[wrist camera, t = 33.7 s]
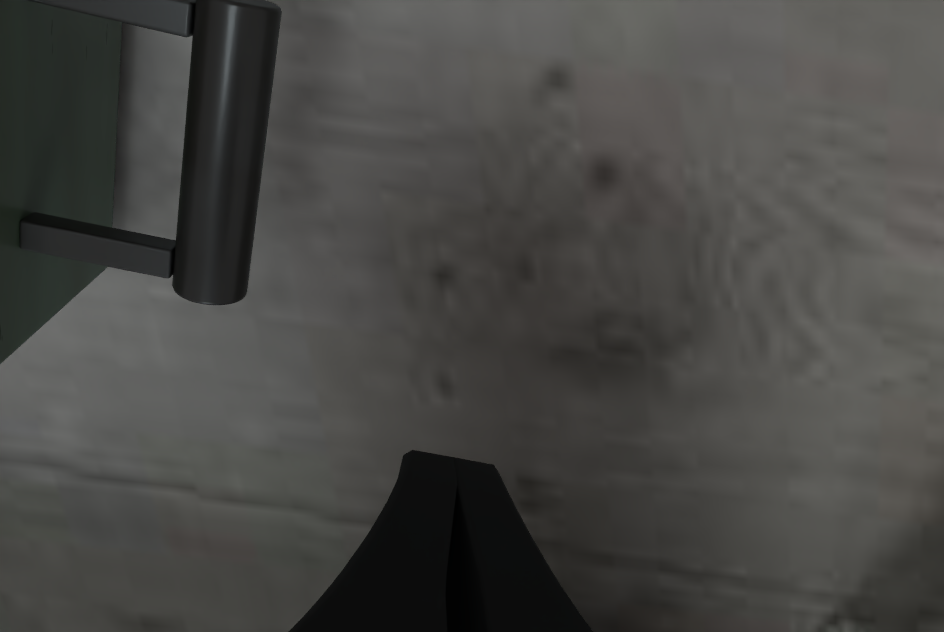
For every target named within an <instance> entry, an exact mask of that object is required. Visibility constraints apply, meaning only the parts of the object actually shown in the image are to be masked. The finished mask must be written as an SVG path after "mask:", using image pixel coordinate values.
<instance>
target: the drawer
mask: <svg viewBox="0 0 944 632" xmlns="http://www.w3.org/2000/svg"><path fill="white" fill-rule="evenodd" d="M281 13H282V11H281V8H280V7H279V6H277V5H276V4H274V3H271V2H268V1H265V0H0V364H1V363H2V362H3V361H4V360H5V359H6V358H8V357H9V356H10V355H11V354H12V353H13V352H14V351H15V350H16V349H17V348H19V347H20V346H21V345H22V344H23V343H24V342H25V341H26V340H27V339H29V338H30V337H31V336H32V335H33V334H34V333H35V332H36V331H37V330H39V329H40V328H41V327H42V326H43V325H44V324H45V323H46V322H47V321H48V320H50V319H51V318H52V317H53V316H54V315H55V314H56V313H57V312H58V311H60V310H61V309H62V308H63V307H64V306H65V305H66V304H67V303H68V302H69V301H71V300H72V299H73V298H74V297H75V296H76V295H77V294H78V293H79V292H81V291H82V290H83V289H84V288H85V287H86V286H87V285H88V284H89V283H91V282H92V281H93V280H94V279H95V278H96V277H97V276H98V275H99V274H100V273H102V272H103V271H104V270H105V269H106V268H107V267H113V268H118V269H123V270H128V271H133V272H138V273H143V274H148V275H153V276H158V277H163V278H170V277H171V276H172V275H173V282H172V286H173V288H174V291H175V292H176V293H177V294H178V295H179V296H181V297H183V298H185V299H187V300H189V301H192V302H196V303H201V304H207V305H226V304H232V303H236V302H238V301H240V300H242V299H243V298H244V297H245V295H246V293H247V288H248V280H249V271H250V263H251V255H252V247H253V239H254V231H255V223H256V215H257V207H258V199H259V191H260V183H261V175H262V166H263V158H264V150H265V142H266V134H267V126H268V118H269V110H270V102H271V94H272V86H273V78H274V69H275V61H276V53H277V45H278V37H279V29H280V21H281ZM122 23H127V24H131V25H135V26H140V27H144V28H148V29H153V30H157V31H161V32H166V33H170V34H174V35H179V36H183V37H189V36H193V40H192V52H191V64H190V76H189V88H188V101H187V113H186V125H185V137H184V149H183V161H182V173H181V185H180V197H179V210H178V222H177V234H176V241H175V240H170V239H165V238H160V237H155V236H151V235H146V234H141V233H136V232H131V231H126V230H121V229H116V228H112V220H113V199H114V178H115V157H116V137H117V116H118V95H119V75H120V54H121V33H122Z"/></svg>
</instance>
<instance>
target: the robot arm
mask: <svg viewBox="0 0 944 632" xmlns="http://www.w3.org/2000/svg"><path fill="white" fill-rule="evenodd" d="M289 632H593V631H592V630H591V628H590V627H589V626H588V624H587V623H586V622H585V620H584V619H583V617H582V616H581V615H580V613H579V612H578V610H577V609H576V607H575V606H574V604H573V603H572V601H571V600H570V598H569V597H568V596H567V594H566V593H565V591H564V590H563V588H562V587H561V585H560V583H559V582H558V580H557V579H556V577H555V575H554V574H553V572H552V571H551V569H550V567H549V566H548V564H547V562H546V561H545V559H544V557H543V555H542V554H541V552H540V550H539V549H538V547H537V545H536V544H535V542H534V540H533V538H532V537H531V535H530V533H529V531H528V529H527V528H526V526H525V524H524V522H523V520H522V518H521V516H520V514H519V512H518V511H517V509H516V507H515V505H514V503H513V501H512V499H511V497H510V495H509V493H508V491H507V489H506V487H505V485H504V482H503V480H502V478H501V476H500V474H499V472H498V471H497V469H496V468H495V466H494V465H492V464H487V463H481V462H476V461H470V460H465V459H459V458H454V457H448V456H443V455H437V454H432V453H426V452H421V451H415V450H412V451H410V452H408V453H406V454H404V455H403V459H402V463H401V467H400V472H399V476H398V479H397V482H396V484H395V486H394V488H393V490H392V493H391V495H390V497H389V499H388V501H387V503H386V504H385V506H384V508H383V510H382V511H381V513H380V515H379V516H378V518H377V520H376V522H375V523H374V525H373V527H372V528H371V530H370V532H369V533H368V535H367V536H366V538H365V539H364V541H363V542H362V544H361V545H360V546H359V548H358V549H357V551H356V552H355V553H354V555H353V556H352V558H351V559H350V560H349V562H348V563H347V565H346V566H345V567H344V569H343V570H342V572H341V573H340V574H339V575H338V577H337V578H336V579H335V580H334V582H333V583H332V584H331V585H330V587H329V588H328V589H327V590H326V591H325V593H324V594H323V595H322V596H321V597H320V599H319V600H318V601H317V602H316V603H315V604H314V605H313V606H312V608H311V609H310V610H309V611H308V612H307V613H306V614H305V615H304V617H303V618H302V619H301V620H300V621H299V622H298V623H297V624H296V625H295V626H294V627H293V628H292V629H291V630H290V631H289Z"/></svg>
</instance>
